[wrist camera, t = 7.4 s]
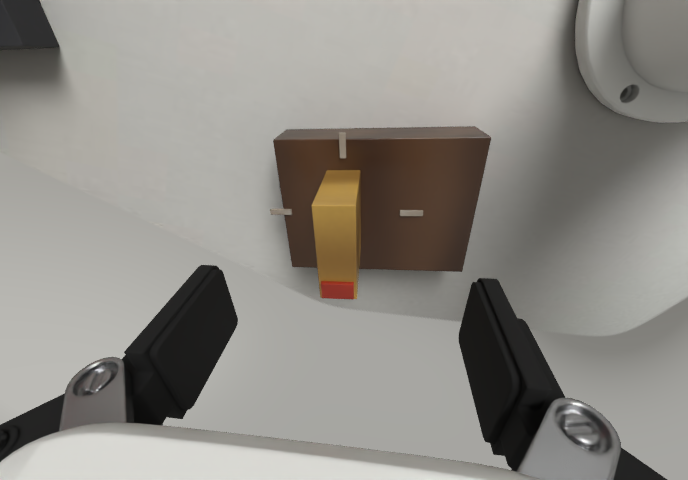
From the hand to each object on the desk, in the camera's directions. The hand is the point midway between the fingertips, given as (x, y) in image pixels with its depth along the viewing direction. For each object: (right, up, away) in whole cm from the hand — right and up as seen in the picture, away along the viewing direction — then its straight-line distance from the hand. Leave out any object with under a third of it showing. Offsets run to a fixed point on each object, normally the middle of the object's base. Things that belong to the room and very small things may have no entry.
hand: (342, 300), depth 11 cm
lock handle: (0, +4, +8) cm, 9 cm away
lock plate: (+2, +6, +10) cm, 12 cm away
